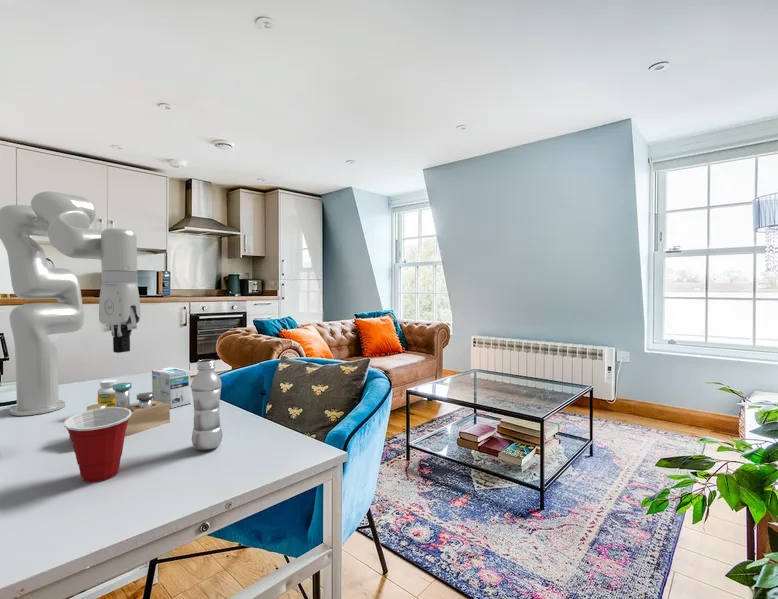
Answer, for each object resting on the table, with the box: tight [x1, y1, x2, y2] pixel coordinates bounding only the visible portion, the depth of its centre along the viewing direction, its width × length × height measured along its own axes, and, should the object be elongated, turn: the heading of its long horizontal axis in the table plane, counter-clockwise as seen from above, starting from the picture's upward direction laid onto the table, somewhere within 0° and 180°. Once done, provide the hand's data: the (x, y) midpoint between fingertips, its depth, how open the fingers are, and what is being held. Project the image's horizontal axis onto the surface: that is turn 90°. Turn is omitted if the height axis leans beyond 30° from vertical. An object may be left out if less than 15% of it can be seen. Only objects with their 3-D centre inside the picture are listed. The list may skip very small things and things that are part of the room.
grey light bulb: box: [136, 391, 154, 409], centre depth 110 cm, size 4×4×8 cm
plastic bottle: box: [190, 358, 224, 451], centre depth 94 cm, size 6×7×20 cm
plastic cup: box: [63, 407, 132, 483], centre depth 80 cm, size 11×11×12 cm
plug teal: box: [113, 382, 132, 410], centre depth 104 cm, size 4×4×8 cm
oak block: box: [68, 399, 171, 444], centre depth 105 cm, size 8×20×5 cm, turn 154°
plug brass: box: [86, 403, 107, 411], centre depth 99 cm, size 4×4×8 cm
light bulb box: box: [151, 366, 192, 409], centre depth 129 cm, size 11×7×11 cm, turn 58°
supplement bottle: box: [97, 379, 118, 407], centre depth 119 cm, size 5×5×10 cm
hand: (121, 351), depth 104 cm, fingers closed
